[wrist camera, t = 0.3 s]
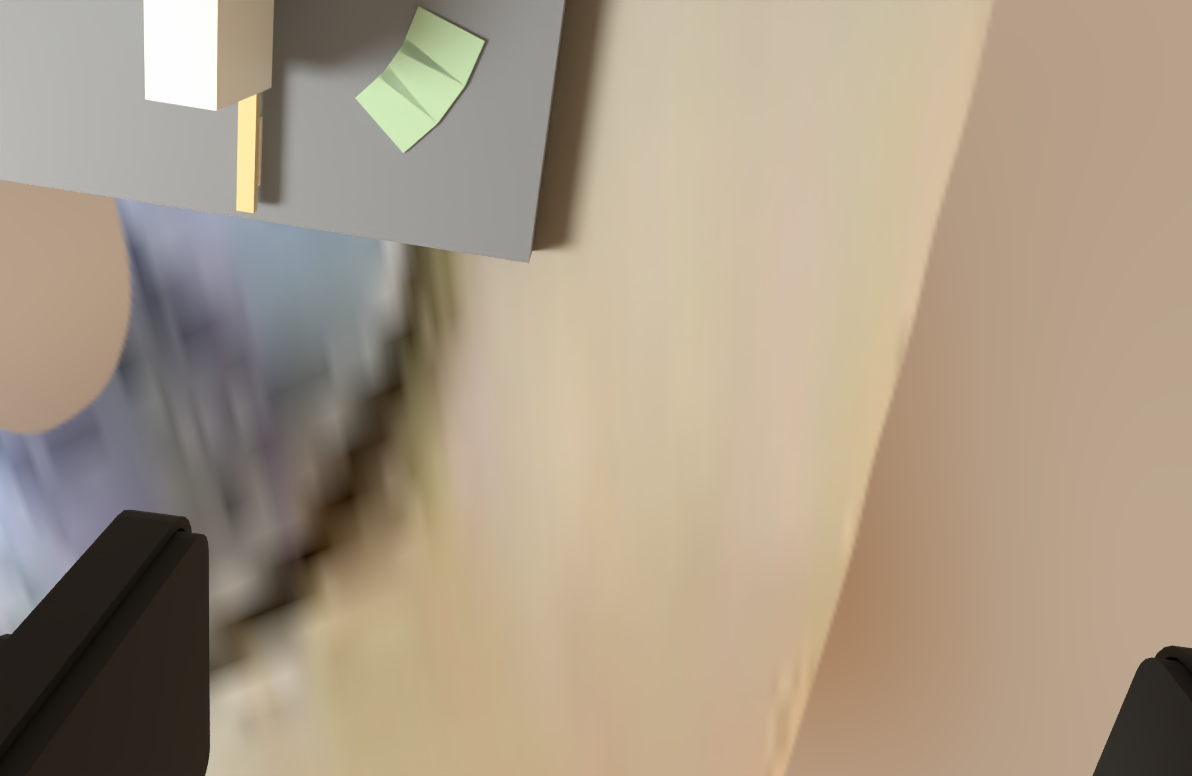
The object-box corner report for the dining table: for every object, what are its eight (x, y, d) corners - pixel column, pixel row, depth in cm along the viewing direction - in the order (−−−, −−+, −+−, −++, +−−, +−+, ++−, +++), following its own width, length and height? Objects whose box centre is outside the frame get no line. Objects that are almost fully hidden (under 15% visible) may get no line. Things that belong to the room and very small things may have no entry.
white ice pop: (226, -195, 32) (139, -225, 26) (291, -184, 32) (219, -211, 26) (221, 203, 37) (147, 252, 31) (278, 212, 37) (214, 262, 31)
